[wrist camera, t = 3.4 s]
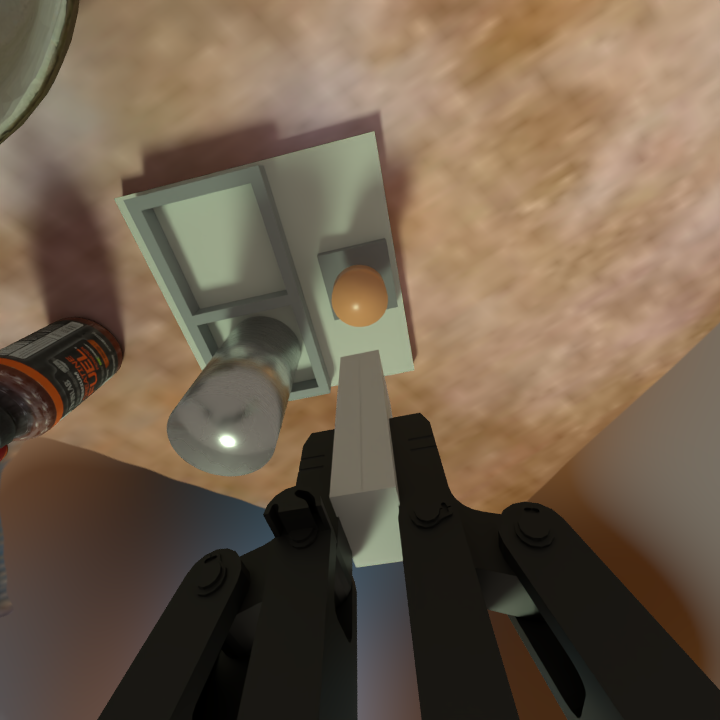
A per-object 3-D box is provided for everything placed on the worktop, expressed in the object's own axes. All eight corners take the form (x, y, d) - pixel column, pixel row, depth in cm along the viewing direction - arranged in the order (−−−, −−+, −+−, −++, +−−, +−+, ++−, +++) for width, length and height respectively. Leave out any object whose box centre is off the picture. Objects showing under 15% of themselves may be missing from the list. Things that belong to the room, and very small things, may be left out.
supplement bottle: (137, 371, 31) (38, 466, 22) (75, 379, 32) (-52, 476, 22) (106, 309, 29) (-26, 386, 19) (37, 318, 29) (-129, 398, 19)
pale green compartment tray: (122, 197, 25) (100, 200, 22) (373, 132, 23) (375, 128, 21) (224, 401, 33) (215, 417, 31) (412, 364, 31) (417, 379, 29)
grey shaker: (216, 324, 28) (146, 406, 19) (288, 309, 28) (253, 385, 18) (244, 385, 31) (195, 483, 21) (309, 372, 31) (289, 467, 21)
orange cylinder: (327, 271, 23) (324, 279, 22) (380, 259, 23) (382, 267, 21) (340, 320, 25) (339, 331, 23) (389, 309, 25) (392, 320, 23)
